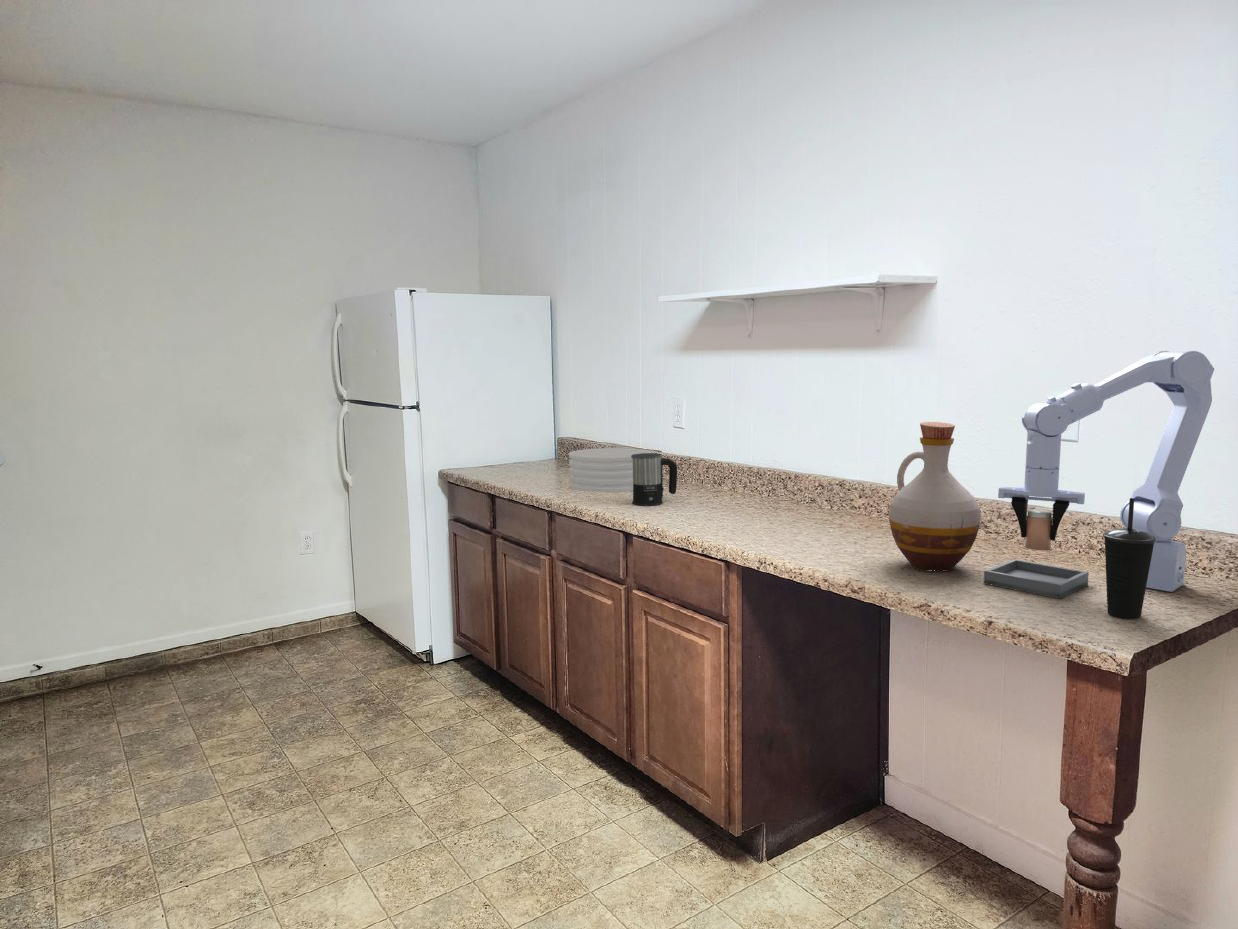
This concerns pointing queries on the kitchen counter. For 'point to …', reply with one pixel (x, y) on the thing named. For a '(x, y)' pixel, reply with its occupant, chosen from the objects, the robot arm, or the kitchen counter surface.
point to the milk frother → (651, 478)
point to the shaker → (1038, 530)
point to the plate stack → (602, 469)
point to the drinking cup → (1127, 568)
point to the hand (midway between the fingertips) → (1038, 538)
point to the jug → (933, 506)
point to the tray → (1036, 578)
